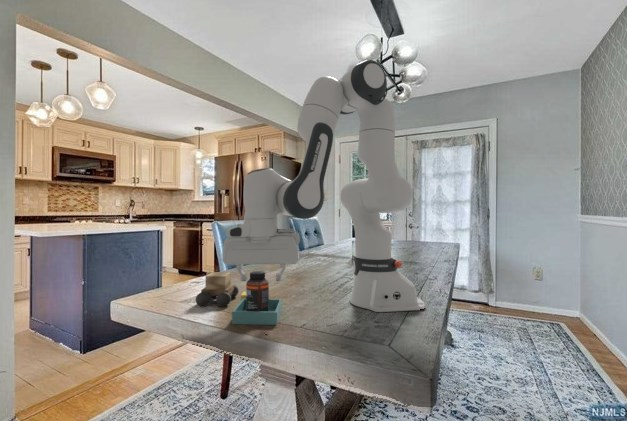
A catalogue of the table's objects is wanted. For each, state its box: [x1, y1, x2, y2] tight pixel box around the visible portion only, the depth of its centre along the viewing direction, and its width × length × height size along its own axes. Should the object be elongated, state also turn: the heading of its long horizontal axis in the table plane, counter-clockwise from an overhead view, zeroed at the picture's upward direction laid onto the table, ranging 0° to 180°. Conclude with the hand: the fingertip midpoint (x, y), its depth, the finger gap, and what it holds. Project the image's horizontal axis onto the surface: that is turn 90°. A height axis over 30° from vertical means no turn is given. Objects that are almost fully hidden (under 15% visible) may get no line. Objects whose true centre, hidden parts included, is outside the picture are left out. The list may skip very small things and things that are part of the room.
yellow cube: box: [240, 290, 246, 301], centre depth 90 cm, size 4×4×4 cm
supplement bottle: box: [245, 270, 270, 311], centre depth 81 cm, size 6×6×11 cm
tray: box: [231, 298, 283, 326], centre depth 81 cm, size 11×11×3 cm
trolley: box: [195, 271, 240, 308], centre depth 94 cm, size 10×10×8 cm
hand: (261, 280), depth 82 cm, fingers open, 8 cm apart
